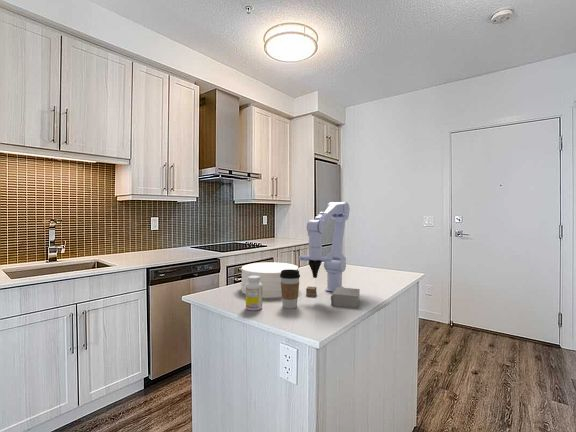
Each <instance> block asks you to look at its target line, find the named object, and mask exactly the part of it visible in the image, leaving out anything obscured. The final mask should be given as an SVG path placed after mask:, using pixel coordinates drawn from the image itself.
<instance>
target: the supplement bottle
mask: <svg viewBox="0 0 576 432" xmlns="http://www.w3.org/2000/svg"><path fill="white" fill-rule="evenodd" d="M248 280H249V282H248V283H247V284H246V294H245V308H246V310H248V311H254V312H255V311H260V310H261V309H262V308H263V297H262V283H260V282H259V280H260V276H249V277H248Z"/></svg>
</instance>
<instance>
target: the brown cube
mask: <svg viewBox="0 0 576 432" xmlns="http://www.w3.org/2000/svg"><path fill="white" fill-rule="evenodd" d="M305 292H306V293H305V294H306V296H305V297H311V298H312V297H313V298H315V297H316V296H317V286H307V287H306V288H305Z"/></svg>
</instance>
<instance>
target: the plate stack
mask: <svg viewBox="0 0 576 432" xmlns="http://www.w3.org/2000/svg"><path fill="white" fill-rule="evenodd" d="M287 269H292V270H298V271H299V266H298V265H296V264H292V263H287V262H286V263H285V262H278V261H277V262H275V261H273V262H272V261H271V262H270V261H269V262H268V261H267V262H263V261H262V262H253V263H249V264H245V265H242V266H241V273H240V274H241V291H240V292H241V293H242V294H244V295H246V284H247V283H248V282H249V280H248V277H249V276H260V280H259V282H260V283H262V299H263V298H266V299H270V298H271V299H274V298H282V292H281V277H280V274H281V271H282V270H287Z"/></svg>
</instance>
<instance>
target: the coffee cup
mask: <svg viewBox="0 0 576 432" xmlns="http://www.w3.org/2000/svg"><path fill="white" fill-rule="evenodd" d="M280 277H281V292H282V297H281V298H282V299H281V301H282V307H283V308H285V309H295V308H297V307H298V297H299V291H300V277H301V274H300V271H299V269H298V270H292V269H287V270H282V271H281V274H280Z"/></svg>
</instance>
